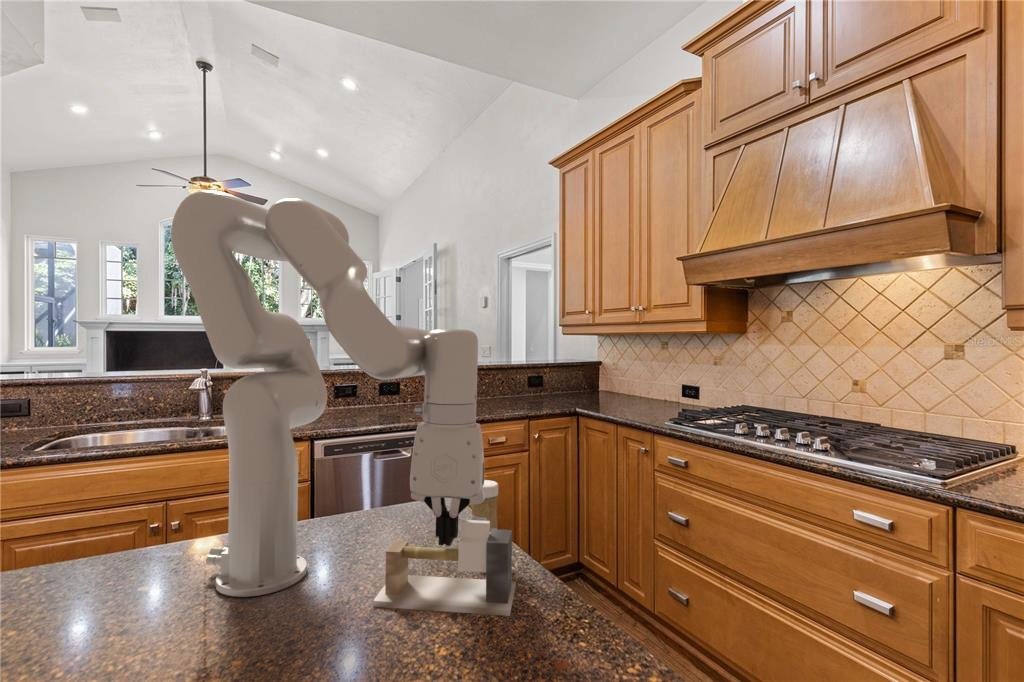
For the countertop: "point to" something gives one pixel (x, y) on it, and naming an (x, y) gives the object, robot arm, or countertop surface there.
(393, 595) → the linear actuator
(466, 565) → the sleeve
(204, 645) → the countertop surface
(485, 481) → the sprinkles bottle
